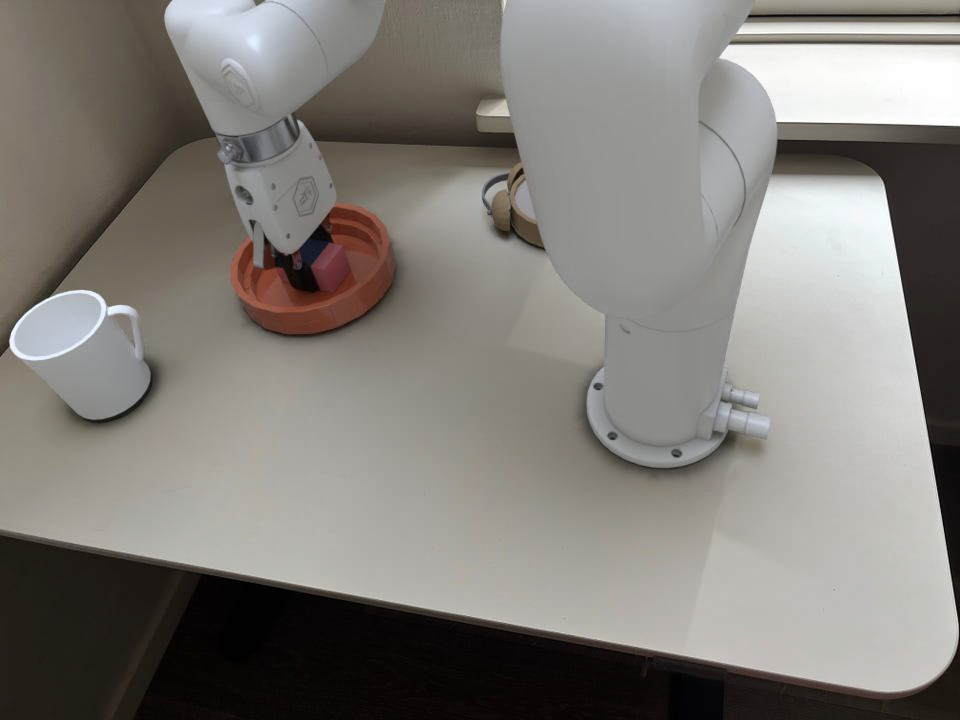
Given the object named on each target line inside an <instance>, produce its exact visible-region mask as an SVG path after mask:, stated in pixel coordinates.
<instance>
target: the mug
mask: <svg viewBox="0 0 960 720" xmlns="http://www.w3.org/2000/svg"><path fill="white" fill-rule="evenodd" d="M117 315H124V316H127V317H129V320H130V325H131V330H132V334H133V339H134V344H133V343H132V341H131V339H129V337H128V336H127V334H126V333H125V332H124V331H125V330H123V329H122V327H121V325H120V324H119V323H118V321H117V319H116V318H115V316H117ZM8 342H9V348H10V350H11V352H12V353H13V355H15V356H16V357H17V358H18V360H20V361H21V362H23V363H24V364H25V365H26V366H27V367H29V368H30V369H31V370H32V371H33V372H34V373H35V374H37V375H38V376H39V377H40V378H41V379H42V380H43V381H44V382H45V383H46V384H47V385H48V386H49V387H50V388H51V390H53V391H54V392H55V394H57V395H58V396H59V397H60V398H61V399H62V400H63V401H64V402H65V403H66V405H68V406H69V407H70V408H71V409H72V410H73V411H74V412H75V414H77V415H78V416H79V417H80V418H81V419H83V420H86V421H91V422H95V423H98V422H100V423H101V422H109V421H112V420H117V419H118V418H121V417H123V416H125V415H127V414H129V413H130V412H131V411H133V410H134V409H136V408H137V407H138V406H139V405H140V404H141V403H142V402H143V401H144V400H145V398H147V395H148V394H149V393H150V389H151V387H152V381H153V374H152V371H151V368H150V367H149V366H148V364H147V363H146V361H145V360H144V358H145V351H146V347H145V341H144V335H143V328H142V323H141V318H140V315H139V313H138V312H137V310H136V309H135V308H134V307H132V306H131V305H126V304H125V305H124V304H117V305H111V306H109V305H108V304H107V302H106V301H105V299H104V298H103V297H102V296H101V295H100V294H99V293H96V292H94V291H92V290H86V289H78V290H77V289H76V290H68V291H64V292H60V293H57V294H54V295H52V296H50V297H48V298H45V299H44V300H42V301H40V302H39V303H37V304H36V305H34V306H33V307H32V308H30V309H29V310H28V311H27V312H25V313H24V315H22V317H21V318H20V319H19V320H18V321H17V322H16V324H15V325H14V327H13V329H12V331H11V333H10V337H9V340H8Z"/></svg>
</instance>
